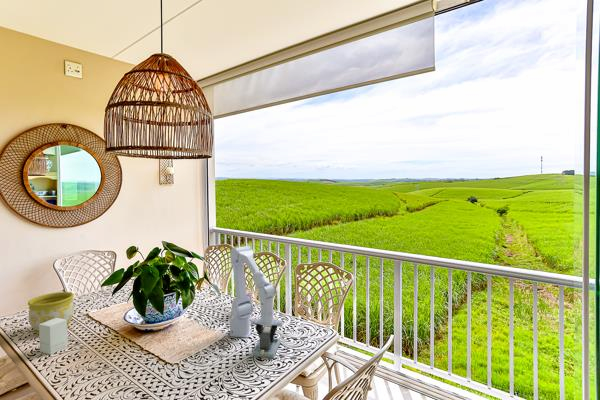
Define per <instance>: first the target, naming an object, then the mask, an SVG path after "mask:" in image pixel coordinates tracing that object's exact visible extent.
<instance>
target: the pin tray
mask: <svg viewBox="0 0 600 400" xmlns="http://www.w3.org/2000/svg"><path fill="white" fill-rule="evenodd" d="M280 344H281V338H278V337H276V338H275V337H274V342H273V344H272V346H271V348H270V350H262V349H260V338H259V339H258V340H257V343H256V345H255V346H254V348H253V350H252V351H251V357H254V358H255V357H256V358H261V359H262V360H263V359H264V358H265V359H275V356H276V354H277V351H278V348H279V347H280ZM261 359H260V360H261Z"/></svg>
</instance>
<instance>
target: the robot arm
mask: <svg viewBox="0 0 600 400" xmlns="http://www.w3.org/2000/svg"><path fill="white" fill-rule="evenodd" d="M229 257H230V264H231V265H232V271H233V280H234V289H235V298H234V299H233V300H232V301H231V311H230V312H231V317H230V319H229V320H230V321H229V335H228V336H229V337H237V338H248V337H249V336H250V335H251V333H252V331H253V328H251V326H254V325H255V330H256V332H257V334H258V336H259V337H258V338H260V332H261V331H262V329H263V327H264V326H265V327H266V326H272V327H271V329H270V330H271V342H273V340H274V338H275V335H276V332H277V329H278V327H279V328H283V325H284V321H282V320H279V319H274V297H275V296H276V293H277V290H276V289H277V288H276V287H275V284H274V283H272V282H270V281H269V280H268V279H267V277H266V275H265V274H264V271H261V270H260V269H259V266H258V265H257V262H256V261H255V258H254V251H253V248H252V246H251V245H245V246H240V247H232V248H231V250H230V251H229ZM244 264H245V265H246V267H247V268H248V270H250V271H249V272H250V273H251V274H252V277H251V278H252V281H253V282H254V284H255V286H256V288H257V295H258V298H259V299H258V300H259V303H260V318H252V319H251V320H250V317H251V316H252V313H253V312H254V304H253V302H252V297H251V298H249V297H248V296H247V294H246V290H247V289H246V288H247V287H246V279H245V268H244ZM250 325H251V326H250Z"/></svg>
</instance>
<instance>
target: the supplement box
mask: <svg viewBox="0 0 600 400" xmlns="http://www.w3.org/2000/svg"><path fill="white" fill-rule="evenodd" d="M38 335H39V337H38V338H39V352H40V353H44V354H47V355H53V354H54V353H57V352H60V351H62V350H63V349H66V348H67V347H68V346H69V345H68V340H69V339H68V326H67V320H65V319H60V318H54V319H52V320H49V321H47V322H44V323H41V324H39V334H38Z"/></svg>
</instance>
